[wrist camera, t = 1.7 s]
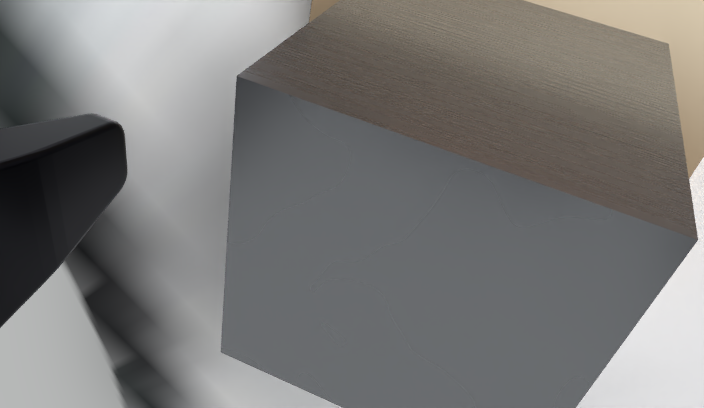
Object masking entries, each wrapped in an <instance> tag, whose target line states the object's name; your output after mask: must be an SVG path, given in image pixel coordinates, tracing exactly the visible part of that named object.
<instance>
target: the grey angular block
mask: <svg viewBox="0 0 704 408" xmlns="http://www.w3.org/2000/svg"><path fill="white" fill-rule="evenodd" d="M697 240H698V237H697V230H696V223H695V217H694V210H693V203H692V197H691V190H690V183H689V176H688V170H687V163H686V156H685V150H684V143H683V136H682V129H681V123H680V116H679V109H678V103H677V96H676V89H675V82H674V76H673V69H672V62H671V56H670V49H669V44H668V43H665V42H661V41H658V40H655V39H651V38H648V37H645V36H641V35H638V34H635V33H631V32H628V31H625V30H621V29H618V28H615V27H611V26H608V25H605V24H601V23H598V22H595V21H591V20H588V19H585V18H581V17H578V16H575V15H571V14H568V13H565V12H561V11H558V10H555V9H551V8H548V7H544V6H541V5H538V4H534V3H531V2H528V1H524V0H340V1H338V2H337V3H335V4H334V5H333V6H331V7H330V8H329V9H327V10H326V11H325V12H323V13H322V14H320V15H319V16H318V17H316V18H315V19H314V20H312V21H311V22H310V23H308V24H307V25H306V26H304V27H303V28H301V29H300V30H299V31H297V32H296V33H295V34H293V35H292V36H291V37H289V38H288V39H287V40H285V41H284V42H282V43H281V44H280V45H278V46H277V47H276V48H274V49H273V50H272V51H270V52H269V53H267V54H266V55H265V56H263V57H262V58H261V59H259V60H258V61H257V62H255V63H254V64H253V65H251V66H250V67H248V68H247V69H246V70H244V71H243V72H242V73H240V74H239V75H238V76H237V82H236V99H235V116H234V134H233V151H232V168H231V185H230V203H229V220H228V237H227V254H226V272H225V289H224V306H223V323H222V341H221V352H222V353H224V354H226V355H228V356H231V357H233V358H235V359H237V360H239V361H242V362H244V363H246V364H248V365H250V366H253V367H255V368H257V369H259V370H261V371H264V372H266V373H268V374H270V375H273V376H275V377H277V378H279V379H281V380H284V381H286V382H288V383H290V384H292V385H295V386H297V387H299V388H301V389H303V390H306V391H308V392H310V393H312V394H314V395H317V396H319V397H321V398H323V399H325V400H328V401H330V402H332V403H334V404H336V405H339V406H341V407H343V408H576V406H577V405H578V404H579V402H580V401H581V400H582V398H583V397H584V396H585V394H586V393H587V391H588V390H589V389H590V387H591V386H592V385H593V383H594V382H595V380H596V379H597V378H598V376H599V375H600V374H601V372H602V371H603V369H604V368H605V367H606V365H607V364H608V363H609V361H610V360H611V358H612V357H613V356H614V354H615V353H616V352H617V350H618V349H619V347H620V346H621V345H622V343H623V342H624V341H625V339H626V338H627V336H628V335H629V334H630V332H631V331H632V330H633V328H634V327H635V326H636V324H637V323H638V321H639V320H640V319H641V317H642V316H643V315H644V313H645V312H646V310H647V309H648V308H649V306H650V305H651V304H652V302H653V301H654V299H655V298H656V297H657V295H658V294H659V293H660V291H661V290H662V288H663V287H664V286H665V284H666V283H667V282H668V280H669V279H670V277H671V276H672V275H673V273H674V272H675V271H676V269H677V268H678V266H679V265H680V264H681V262H682V261H683V260H684V258H685V257H686V256H687V254H688V253H689V251H690V250H691V249H692V247H693V246H694V245H695V243H696V242H697Z"/></svg>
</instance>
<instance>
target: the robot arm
mask: <svg viewBox="0 0 704 408" xmlns="http://www.w3.org/2000/svg"><path fill="white" fill-rule="evenodd" d="M126 177H127V159H126V145H125V134H124V130H123V128H122V126H121V125H120V124H119V123H118V122H116V121H113V120H111V119H108V118H106V117H103V116H101V115H97V114H85V115H79V116H73V117H67V118H61V119H55V120H49V121H43V122H37V123H31V124H25V125H19V126H13V127H7V128H1V129H0V328H1V326H2V325H3V324H4V323H5V322H6V321H7V320H8V319H9V318H10V317H11V316H12V315H13V314H14V313H15V312H16V311H17V310H18V309H19V308H20V307H21V306H22V305H23V304H24V303H25V302H26V301H27V300H28V299H29V298H30V297H31V296H32V295H33V294H34V293H35V292H36V291H37V290H38V289H39V288H40V287H41V286H42V285H43V284H44V282H46V280H47V279H48V278H49V277H50V276H51V275H52V274H53V273H54V272H55V271H56V270H57V269H58V268H59V266H60V265H61V264H62V263H63V262H64V260H65V259H66V258H67V257H68V256H69V255H70V253H71V252H72V251H73V249H74V248H75V247H76V246H77V244H78V243H79V242H80V241H81V239H82V238H83V237H84V236H85V234H86V233H87V232H88V231H89V229H90V228H91V227H92V225H93V224H94V223H95V222H96V220H97V219H98V218H99V217H100V215H101V214H102V213H103V212H104V210H105V209H106V208H107V207H108V205H109V204H110V203H111V201H112V200H113V199H114V198H115V196H116V195H117V194H118V193H119V191H120V190H121V189H122V187H123V185H124V183H125V181H126Z"/></svg>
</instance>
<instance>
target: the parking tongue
mask: <svg viewBox="0 0 704 408" xmlns="http://www.w3.org/2000/svg"><path fill="white" fill-rule="evenodd" d="M338 1H340V0H312V4H311V11H310V19H309V23H310V22H311V21H312V20H314V19H315V18H316V17H318V16H319V15H320V14H322V13H323V12H325V11H326V10H327V9H329V8H330V7H331V6H333V5H334V4H335V3H337V2H338ZM524 1H528V2H531V3H534V4H538V5H541V6H544V7H548V8H551V9H555V10H558V11H561V12H565V13H568V14H571V15H575V16H578V17H581V18H585V19H588V20H591V21H595V22H598V23H601V24H605V25H608V26H611V27H615V28H618V29H621V30H625V31H628V32H631V33H635V34H638V35H641V36H645V37H648V38H651V39H655V40H658V41H661V42H665V43H668V44H669V49H670V56H671V62H672V69H673V76H674V82H675V89H676V96H677V103H678V109H679V116H680V123H681V129H682V136H683V143H684V150H685V156H686V163H687V170H688V176H689V178H690V177H691V175H692V174H693V172H694V170H695V169H696V167H697V166H698V164H699V163H700V161H701V160H702V158H703V157H704V0H524Z"/></svg>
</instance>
